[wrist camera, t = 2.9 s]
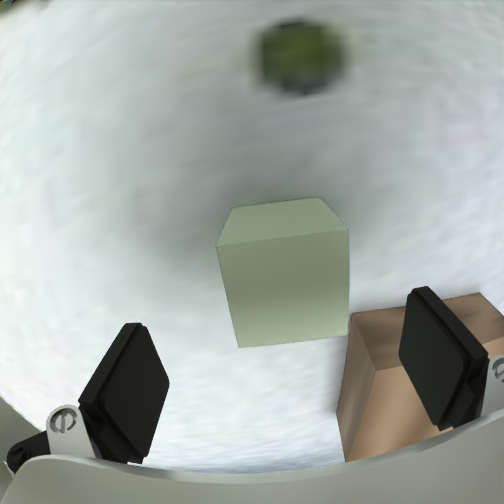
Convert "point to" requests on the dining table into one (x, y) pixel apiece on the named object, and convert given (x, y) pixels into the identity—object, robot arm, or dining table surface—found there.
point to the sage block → (285, 272)
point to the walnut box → (396, 378)
